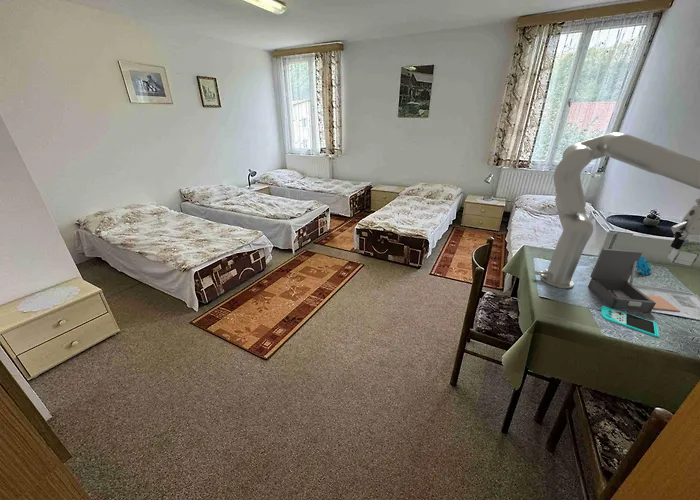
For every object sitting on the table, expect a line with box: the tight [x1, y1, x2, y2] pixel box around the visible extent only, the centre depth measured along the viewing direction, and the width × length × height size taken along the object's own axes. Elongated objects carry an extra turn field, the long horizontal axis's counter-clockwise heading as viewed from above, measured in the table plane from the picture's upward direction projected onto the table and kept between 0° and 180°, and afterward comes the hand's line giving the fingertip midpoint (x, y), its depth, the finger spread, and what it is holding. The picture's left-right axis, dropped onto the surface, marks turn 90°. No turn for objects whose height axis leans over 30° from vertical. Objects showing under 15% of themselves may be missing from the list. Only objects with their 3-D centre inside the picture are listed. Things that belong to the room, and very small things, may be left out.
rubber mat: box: [645, 294, 681, 313], centre depth 117 cm, size 10×10×1 cm
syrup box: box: [666, 233, 700, 268], centre depth 106 cm, size 6×6×14 cm
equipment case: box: [587, 248, 656, 314], centre depth 116 cm, size 14×18×18 cm
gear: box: [636, 255, 652, 276], centre depth 141 cm, size 11×6×10 cm
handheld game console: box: [600, 305, 660, 339], centre depth 107 cm, size 10×16×1 cm, turn 49°
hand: (687, 248), depth 107 cm, fingers closed on syrup box, 7 cm apart
